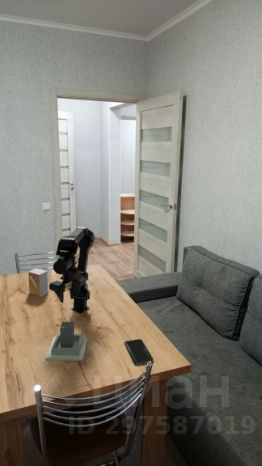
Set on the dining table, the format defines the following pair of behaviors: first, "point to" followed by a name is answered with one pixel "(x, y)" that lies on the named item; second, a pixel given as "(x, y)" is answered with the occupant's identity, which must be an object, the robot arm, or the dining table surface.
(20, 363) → the dining table surface
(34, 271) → the small box
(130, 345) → the phone
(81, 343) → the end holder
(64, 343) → the connector plug
